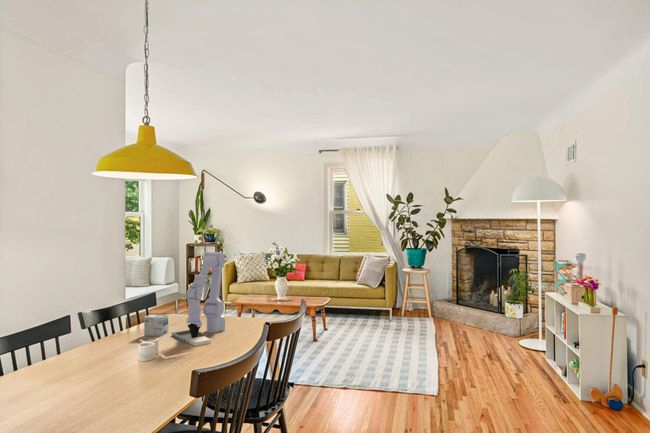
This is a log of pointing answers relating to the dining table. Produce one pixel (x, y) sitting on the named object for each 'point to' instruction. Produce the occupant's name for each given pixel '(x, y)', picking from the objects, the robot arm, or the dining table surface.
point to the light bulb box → (156, 325)
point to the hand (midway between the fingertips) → (194, 338)
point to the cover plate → (199, 341)
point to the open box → (185, 335)
